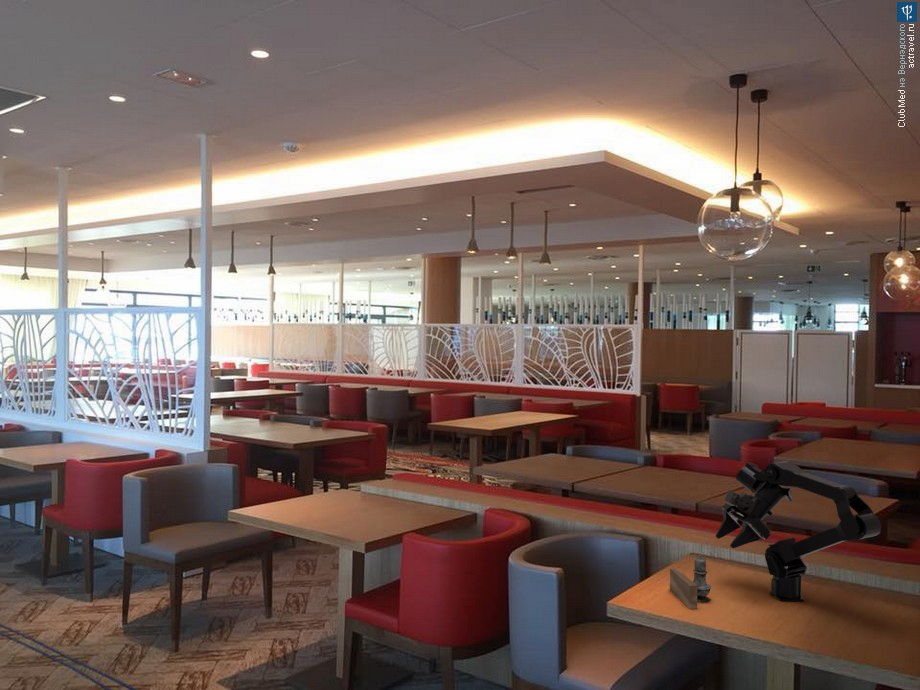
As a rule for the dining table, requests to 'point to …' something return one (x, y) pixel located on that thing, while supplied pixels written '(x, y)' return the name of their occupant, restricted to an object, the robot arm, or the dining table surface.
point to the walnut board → (683, 588)
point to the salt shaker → (701, 580)
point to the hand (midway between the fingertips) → (723, 542)
